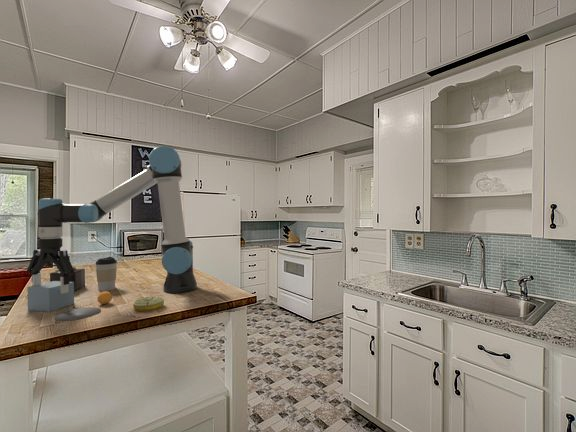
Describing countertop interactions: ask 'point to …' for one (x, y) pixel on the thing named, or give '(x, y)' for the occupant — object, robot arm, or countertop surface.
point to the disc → (77, 313)
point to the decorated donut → (148, 304)
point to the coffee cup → (106, 273)
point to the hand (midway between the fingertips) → (50, 291)
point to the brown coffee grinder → (76, 277)
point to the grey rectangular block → (49, 296)
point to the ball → (104, 297)
